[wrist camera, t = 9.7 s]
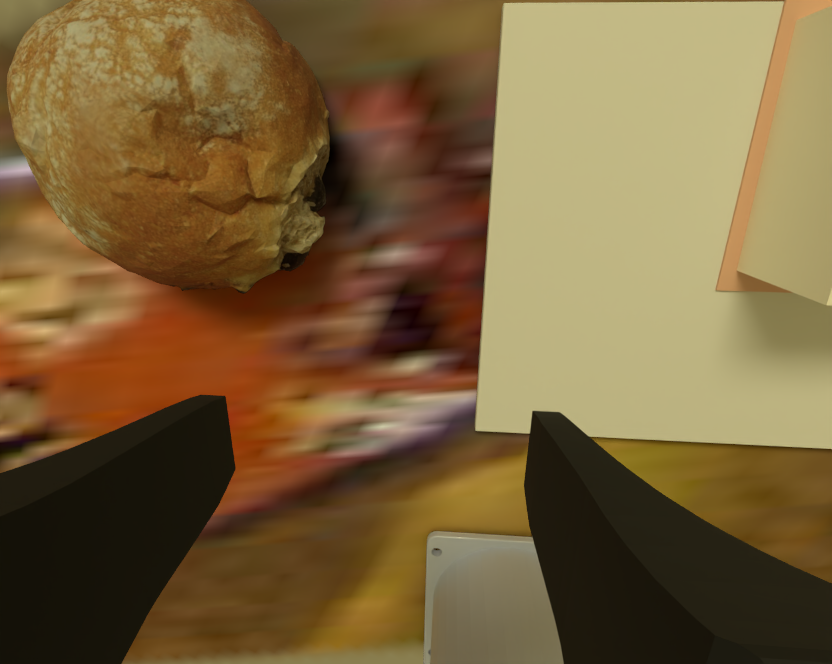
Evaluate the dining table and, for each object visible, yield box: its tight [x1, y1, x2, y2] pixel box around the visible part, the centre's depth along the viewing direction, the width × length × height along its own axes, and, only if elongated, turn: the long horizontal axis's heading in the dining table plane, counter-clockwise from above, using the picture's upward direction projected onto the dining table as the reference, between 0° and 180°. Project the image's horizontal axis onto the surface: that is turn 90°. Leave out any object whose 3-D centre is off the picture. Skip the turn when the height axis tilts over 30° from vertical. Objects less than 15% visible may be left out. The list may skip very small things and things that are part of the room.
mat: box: [475, 0, 832, 449], centre depth 18 cm, size 16×16×1 cm
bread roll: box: [7, 0, 330, 293], centre depth 16 cm, size 10×10×8 cm
